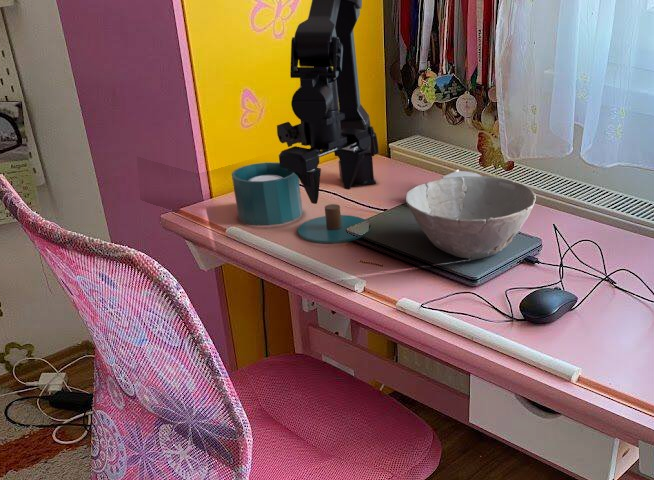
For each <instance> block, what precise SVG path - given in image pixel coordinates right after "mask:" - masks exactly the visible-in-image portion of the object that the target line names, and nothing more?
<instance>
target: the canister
mask: <svg viewBox="0 0 654 480" xmlns="http://www.w3.org/2000/svg"><path fill="white" fill-rule="evenodd" d="M261 175H277V176H281V177H283V178H281V179H277V180H270V181H248V180H249V179H251V178H253V177H257V176H261ZM231 180H232V186H233V187H232V188H233V193H234V198H235V199H234V200H235V205H236V210H237V211H236V212H237V217H238V219H239V221H241V222H242V223H244V224H247V225H253V226H269V227H270V226H277V225H284V224H285V223H291V222H293V221H295V220H297V219H298V218H301V216H302V214H303V213H304V211H303V204H302V196H301V186H300V179H299V178H298V176H297V175H296V174H295V173H294V172H291V171H287V169H286V168H281V167H280V162H258V163H252V164H247V165H244V166H241V167H238V168H236V169H234V171H232V173H231Z"/></svg>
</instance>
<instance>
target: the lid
mask: <svg viewBox="0 0 654 480" xmlns="http://www.w3.org/2000/svg"><path fill="white" fill-rule="evenodd" d="M363 221H367V220H366V219H365V218H362V217H359V216H356V215H355V216H354V215H348V214H341V206H340V205H339V204H337V203H336V204H335V203H333V204H331V203H330V204H326V205H325V206H324V215H323V216H318V217H314V218H311V219H308V220H306V221H304V222H302V223H301V224H300V225H299V226H298V229H297V233H298V236H299V237H300V238H301V239H302V240H305V241H308V242H311V243H317V244H340V243H341V244H342V243H347V242H353V241H356V240H359V239H361V238H363V237H365V236H366V235H368V234H369V233H370V231H371V228H370V229H369V230H368V232H366V233H365V234H363V235H361V236H359V237H356V236H353V235H351V234H349V233H347V232H346V230H347V228H349V227H350V226H353V225H355V224H358V223H361V222H363Z"/></svg>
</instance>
